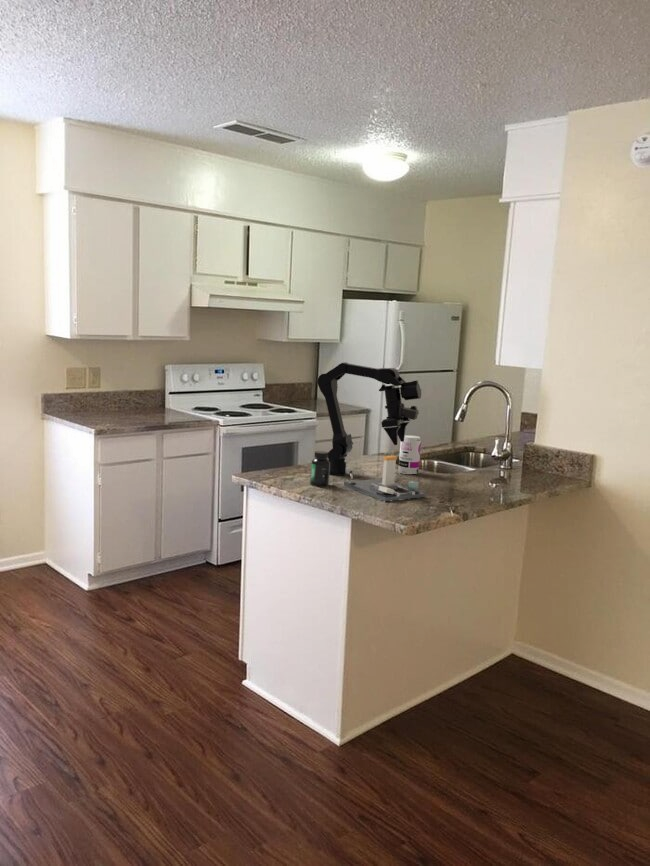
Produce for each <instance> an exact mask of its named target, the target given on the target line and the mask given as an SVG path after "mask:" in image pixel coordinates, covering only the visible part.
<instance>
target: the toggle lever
mask: <svg viewBox="0 0 650 866" xmlns="http://www.w3.org/2000/svg"><path fill="white" fill-rule="evenodd" d="M348 473H349V476H350V481H354V476H353V470H351V469H350V470H349V472H348Z"/></svg>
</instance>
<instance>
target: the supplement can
mask: <svg viewBox="0 0 650 866" xmlns="http://www.w3.org/2000/svg"><path fill="white" fill-rule="evenodd" d="M399 445H400V446H399V456H398V468H397V471H398V473H399V474H400V473H403V474H417V473H418V474H419V472H420V470H419V469H420V462H421V461H420V460H421V448H422V439H421V437H420V436H418V435H412V434H411V435H410V434H405V437H404V442H401V441H400V443H399ZM403 474H402V475H403ZM418 474H417V475H418Z"/></svg>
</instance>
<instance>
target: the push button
mask: <svg viewBox="0 0 650 866" xmlns="http://www.w3.org/2000/svg"><path fill="white" fill-rule="evenodd" d="M407 487H408V489H411V490H419V482H418V481H411V480H410V481H408V486H407Z"/></svg>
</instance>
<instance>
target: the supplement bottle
mask: <svg viewBox="0 0 650 866" xmlns="http://www.w3.org/2000/svg"><path fill="white" fill-rule="evenodd" d="M328 452H329V451H324V450H316V451H314V455H313V457H314V458H313V459H312V460H311V462H310V475H309V476H310V478H309V480H310V481H309V484H310V485H311V486H312V487H316V488H317V487H318V488H319V487H320V488H323V487H324V488H325V487H326V488H327V487H328V486H329V484H330V475H331V474H330V461H329V459H328Z"/></svg>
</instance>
